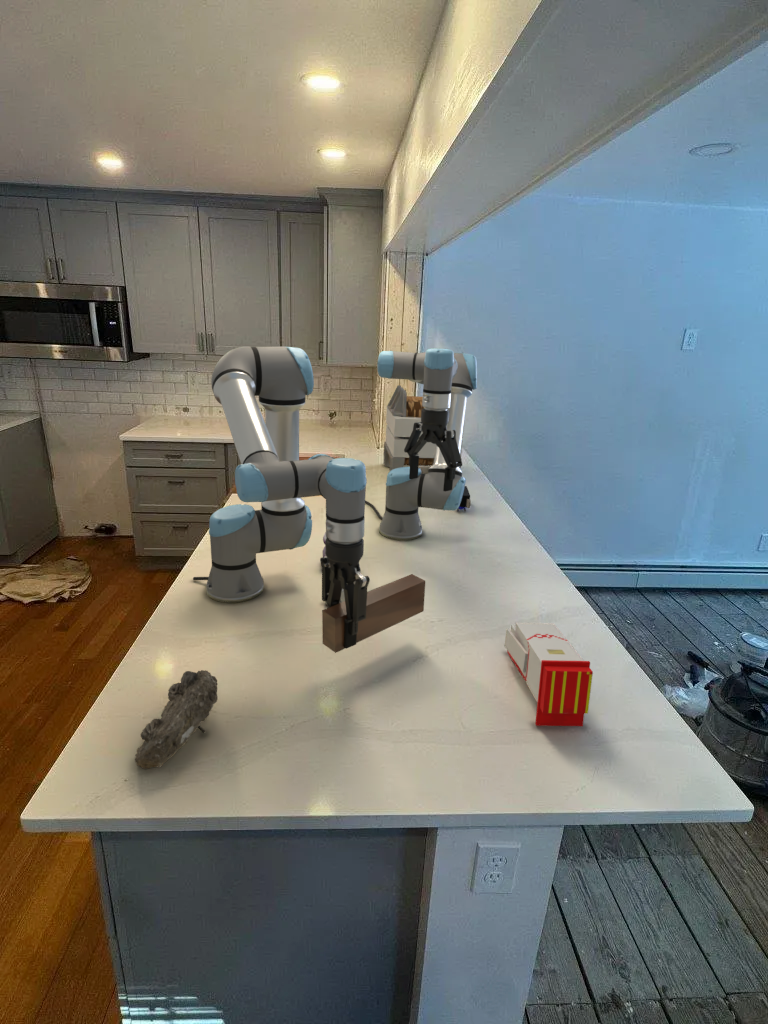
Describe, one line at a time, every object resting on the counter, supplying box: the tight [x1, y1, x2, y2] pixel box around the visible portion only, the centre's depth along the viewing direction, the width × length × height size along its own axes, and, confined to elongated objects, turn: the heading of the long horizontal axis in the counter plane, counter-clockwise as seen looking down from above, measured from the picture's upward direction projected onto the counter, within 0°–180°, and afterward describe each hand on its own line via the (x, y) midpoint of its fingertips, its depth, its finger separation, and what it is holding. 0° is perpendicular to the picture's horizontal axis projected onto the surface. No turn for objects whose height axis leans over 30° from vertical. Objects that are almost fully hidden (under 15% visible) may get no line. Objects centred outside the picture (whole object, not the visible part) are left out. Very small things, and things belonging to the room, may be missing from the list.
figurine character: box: [456, 485, 472, 513], centre depth 228 cm, size 7×8×15 cm
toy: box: [503, 622, 594, 727], centre depth 121 cm, size 12×13×30 cm
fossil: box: [134, 669, 218, 770], centre depth 103 cm, size 22×10×15 cm
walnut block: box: [321, 573, 426, 654], centre depth 124 cm, size 4×26×8 cm, turn 133°
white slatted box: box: [383, 384, 465, 472], centre depth 268 cm, size 34×33×41 cm
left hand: (342, 639), depth 119 cm, fingers closed on walnut block, 4 cm apart
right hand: (430, 484), depth 159 cm, fingers open, 13 cm apart
